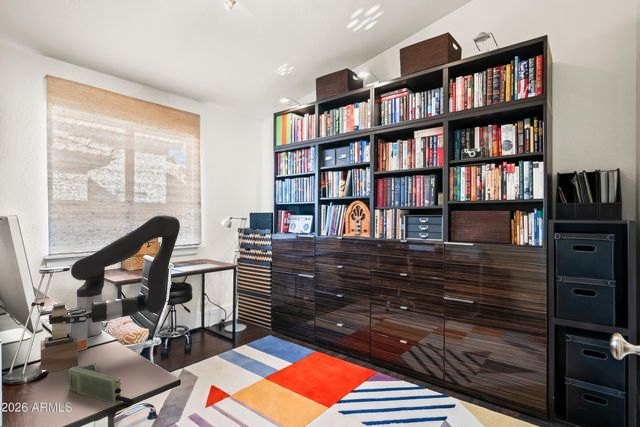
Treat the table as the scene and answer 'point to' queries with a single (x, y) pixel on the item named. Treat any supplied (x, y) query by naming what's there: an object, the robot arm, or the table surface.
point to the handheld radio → (96, 385)
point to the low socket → (91, 367)
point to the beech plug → (59, 328)
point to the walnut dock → (59, 353)
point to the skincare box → (79, 333)
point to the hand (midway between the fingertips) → (49, 319)
